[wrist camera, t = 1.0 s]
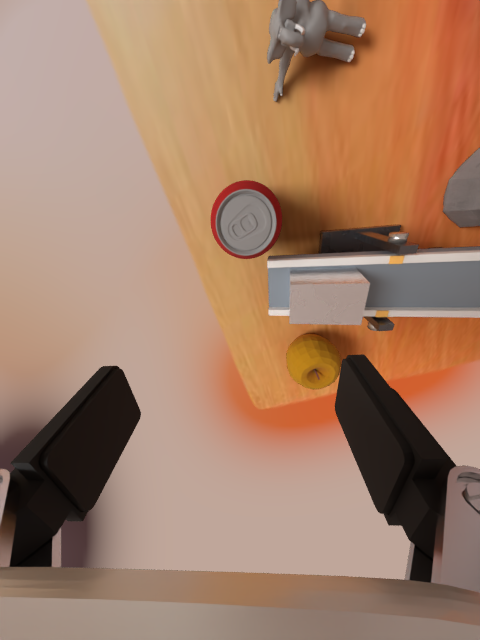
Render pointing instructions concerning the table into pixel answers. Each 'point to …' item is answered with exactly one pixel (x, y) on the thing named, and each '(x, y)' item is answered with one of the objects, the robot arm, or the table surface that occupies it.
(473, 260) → the beam
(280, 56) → the elephant figurine
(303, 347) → the apple
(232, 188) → the beverage can
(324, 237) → the stand
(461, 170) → the coffeepot
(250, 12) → the table surface
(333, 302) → the rider
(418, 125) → the table surface
